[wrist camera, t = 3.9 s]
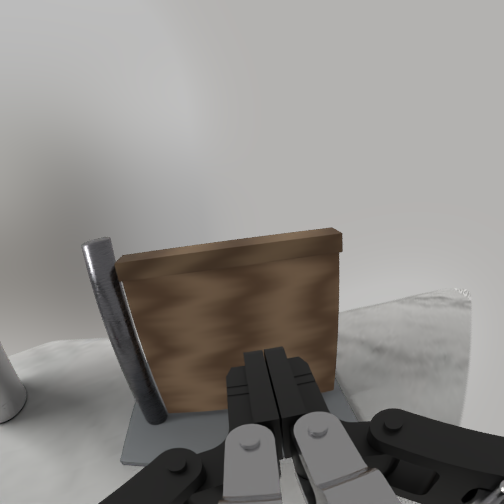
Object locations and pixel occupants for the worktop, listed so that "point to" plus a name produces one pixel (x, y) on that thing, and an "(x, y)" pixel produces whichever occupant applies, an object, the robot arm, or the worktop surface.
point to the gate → (233, 310)
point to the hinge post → (121, 327)
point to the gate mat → (197, 429)
